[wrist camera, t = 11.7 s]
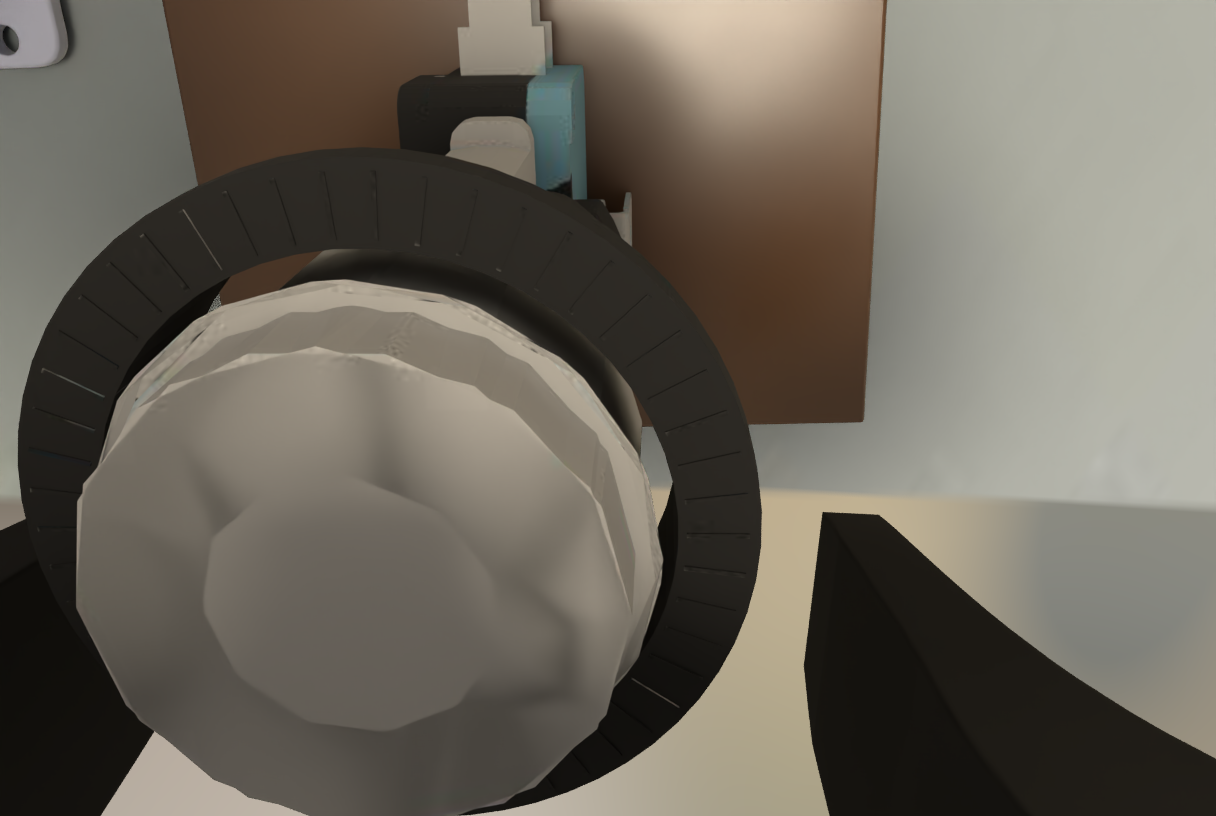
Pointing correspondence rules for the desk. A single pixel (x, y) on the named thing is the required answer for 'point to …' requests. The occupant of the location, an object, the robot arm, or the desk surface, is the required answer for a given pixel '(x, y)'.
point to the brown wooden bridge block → (615, 149)
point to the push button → (397, 462)
